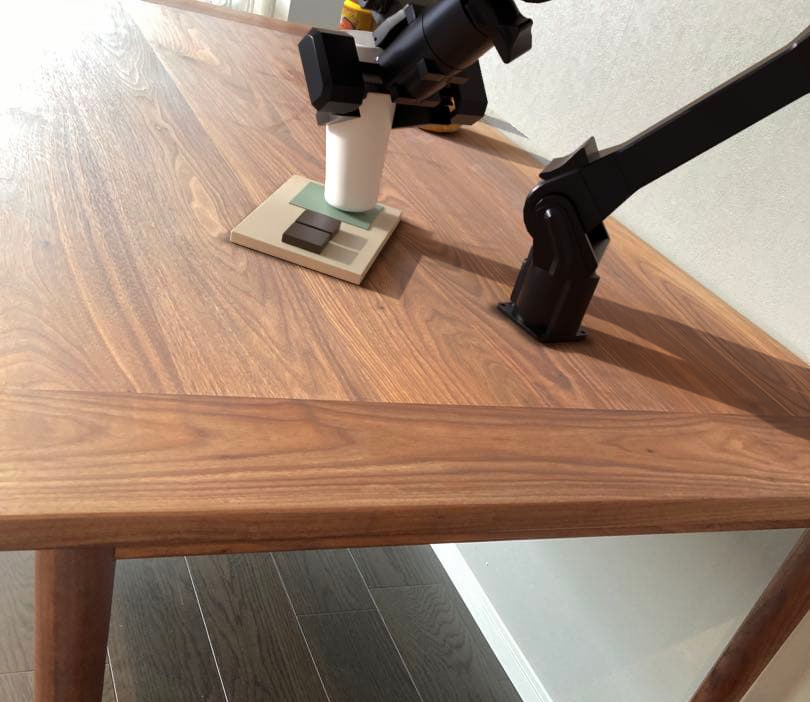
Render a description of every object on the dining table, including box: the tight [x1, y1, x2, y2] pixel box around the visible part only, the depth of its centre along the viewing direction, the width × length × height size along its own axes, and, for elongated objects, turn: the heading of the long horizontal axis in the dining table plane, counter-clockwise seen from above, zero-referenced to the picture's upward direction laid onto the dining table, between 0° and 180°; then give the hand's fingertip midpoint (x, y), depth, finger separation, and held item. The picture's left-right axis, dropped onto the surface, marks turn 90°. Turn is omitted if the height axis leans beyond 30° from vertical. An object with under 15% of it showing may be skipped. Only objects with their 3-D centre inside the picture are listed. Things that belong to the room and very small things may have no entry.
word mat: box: [229, 173, 404, 286], centre depth 88 cm, size 20×12×2 cm, turn 169°
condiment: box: [338, 0, 379, 32], centre depth 141 cm, size 7×8×12 cm
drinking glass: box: [324, 29, 397, 212], centre depth 87 cm, size 7×7×15 cm
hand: (348, 123), depth 88 cm, fingers closed on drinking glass, 6 cm apart
